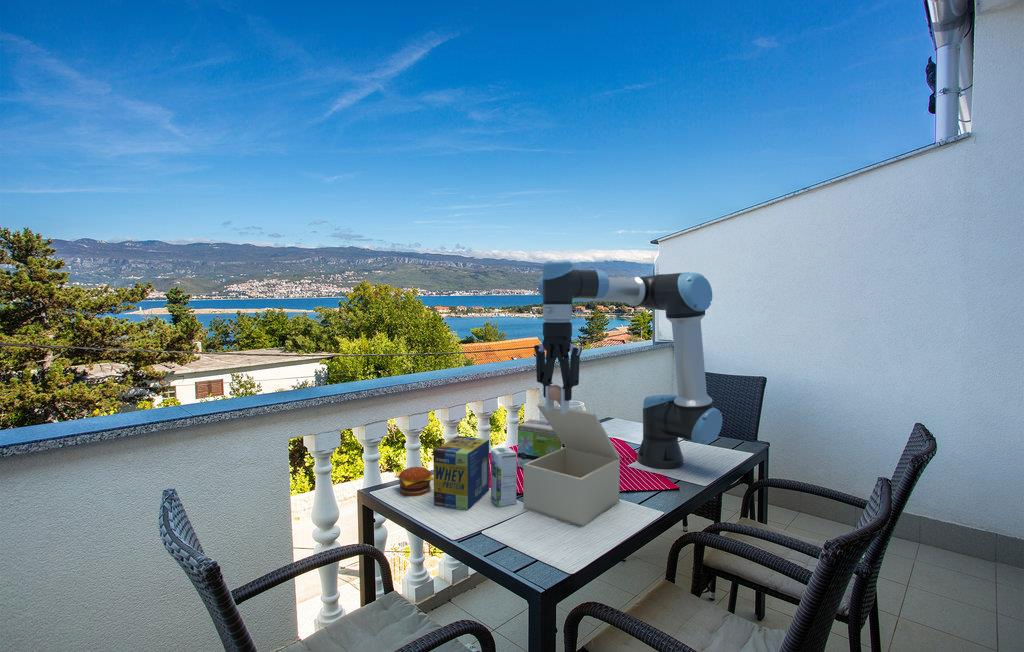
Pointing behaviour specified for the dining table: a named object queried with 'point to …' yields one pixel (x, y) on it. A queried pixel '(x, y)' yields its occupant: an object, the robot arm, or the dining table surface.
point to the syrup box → (503, 476)
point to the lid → (578, 428)
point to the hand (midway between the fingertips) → (557, 411)
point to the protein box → (461, 472)
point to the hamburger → (415, 481)
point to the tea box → (536, 441)
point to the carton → (571, 485)
